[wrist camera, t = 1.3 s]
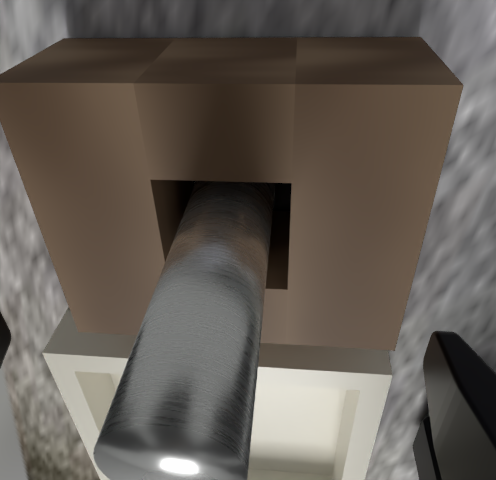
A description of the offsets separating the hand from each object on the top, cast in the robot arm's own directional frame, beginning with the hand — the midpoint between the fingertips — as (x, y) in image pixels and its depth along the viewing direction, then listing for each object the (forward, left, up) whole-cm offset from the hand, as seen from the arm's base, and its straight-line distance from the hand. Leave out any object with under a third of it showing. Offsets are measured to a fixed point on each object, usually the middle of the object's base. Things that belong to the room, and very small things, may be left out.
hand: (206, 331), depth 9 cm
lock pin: (0, 0, -7) cm, 7 cm away
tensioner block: (0, 0, -7) cm, 7 cm away
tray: (+1, +13, -7) cm, 15 cm away
